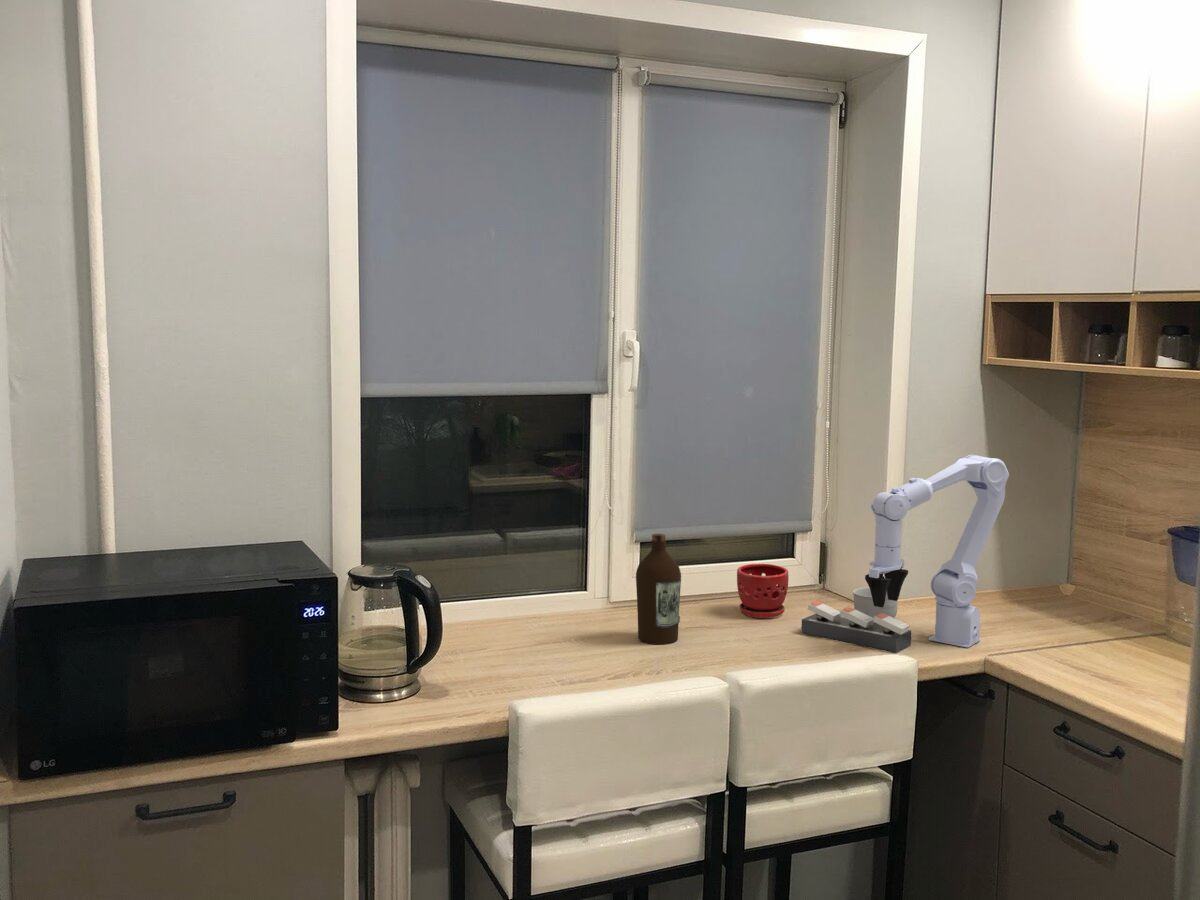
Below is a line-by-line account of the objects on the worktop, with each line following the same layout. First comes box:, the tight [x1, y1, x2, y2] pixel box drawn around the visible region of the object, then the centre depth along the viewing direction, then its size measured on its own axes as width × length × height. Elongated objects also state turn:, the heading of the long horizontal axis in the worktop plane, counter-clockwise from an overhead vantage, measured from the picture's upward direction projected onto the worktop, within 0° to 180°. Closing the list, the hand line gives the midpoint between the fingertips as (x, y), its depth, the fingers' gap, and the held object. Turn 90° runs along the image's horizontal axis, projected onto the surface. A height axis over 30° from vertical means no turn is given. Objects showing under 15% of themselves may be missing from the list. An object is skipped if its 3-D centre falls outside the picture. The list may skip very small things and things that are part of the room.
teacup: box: [852, 586, 898, 624], centre depth 255 cm, size 14×11×8 cm
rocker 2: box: [839, 606, 874, 628], centre depth 238 cm, size 7×4×2 cm, turn 50°
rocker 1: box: [807, 600, 842, 621], centre depth 244 cm, size 7×4×2 cm, turn 50°
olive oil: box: [635, 533, 682, 645], centre depth 238 cm, size 11×11×25 cm
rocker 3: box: [873, 613, 910, 635], centre depth 233 cm, size 7×4×2 cm, turn 50°
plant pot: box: [736, 563, 789, 619], centre depth 260 cm, size 13×13×12 cm
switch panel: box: [801, 613, 912, 654], centre depth 239 cm, size 24×8×5 cm, turn 49°
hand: (885, 603), depth 233 cm, fingers open, 7 cm apart
